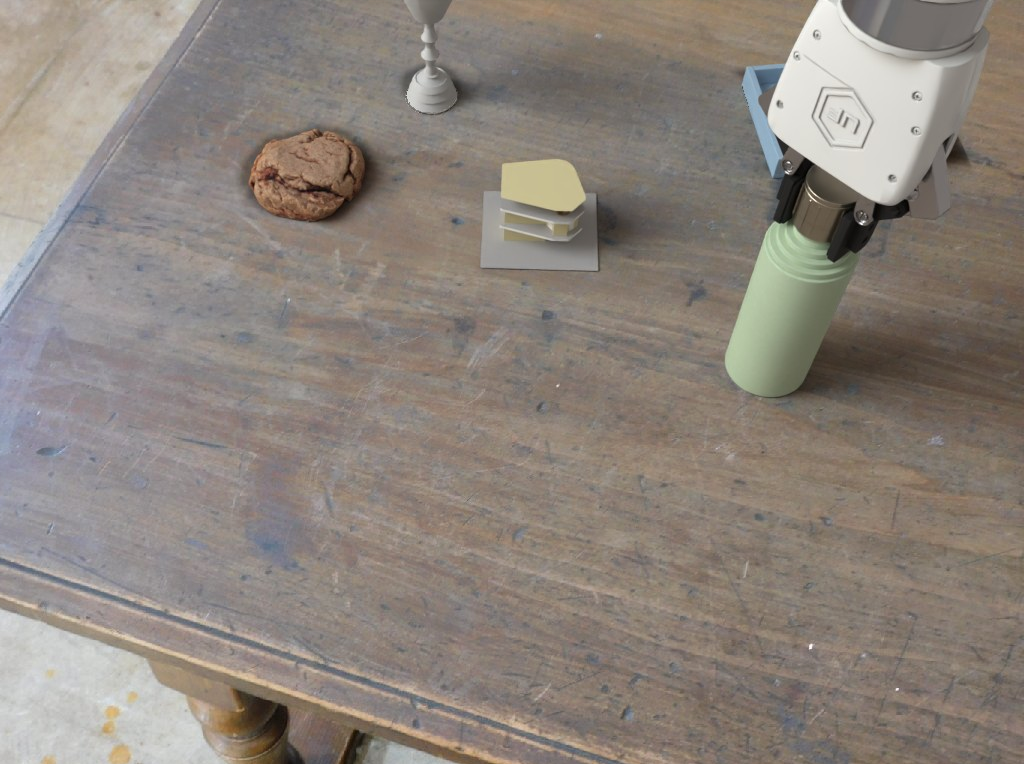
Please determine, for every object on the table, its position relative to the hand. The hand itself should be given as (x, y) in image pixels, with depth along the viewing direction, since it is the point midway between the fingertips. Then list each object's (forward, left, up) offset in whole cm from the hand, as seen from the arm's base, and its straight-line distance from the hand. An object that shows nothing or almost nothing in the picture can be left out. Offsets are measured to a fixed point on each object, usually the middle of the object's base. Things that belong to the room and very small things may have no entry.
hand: (817, 229), depth 72 cm
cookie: (+36, -24, -16) cm, 46 cm away
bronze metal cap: (0, 0, +1) cm, 1 cm away
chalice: (+24, -34, -16) cm, 45 cm away
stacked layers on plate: (+16, -16, -16) cm, 28 cm away
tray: (-13, -26, -16) cm, 33 cm away
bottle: (0, 0, -16) cm, 16 cm away
